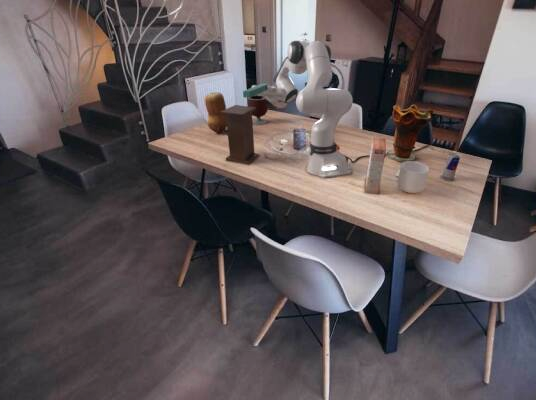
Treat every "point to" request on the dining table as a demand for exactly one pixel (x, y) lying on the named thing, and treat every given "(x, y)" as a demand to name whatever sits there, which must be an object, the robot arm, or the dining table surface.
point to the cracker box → (375, 165)
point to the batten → (254, 90)
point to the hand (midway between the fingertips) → (263, 86)
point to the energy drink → (450, 166)
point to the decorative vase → (407, 131)
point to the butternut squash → (216, 112)
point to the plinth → (240, 134)
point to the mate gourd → (258, 108)
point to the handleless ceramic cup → (412, 176)
